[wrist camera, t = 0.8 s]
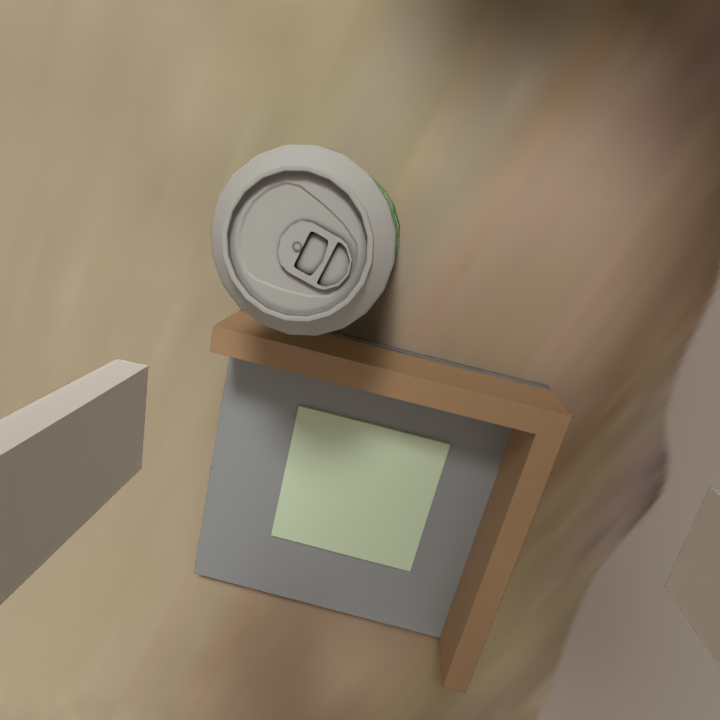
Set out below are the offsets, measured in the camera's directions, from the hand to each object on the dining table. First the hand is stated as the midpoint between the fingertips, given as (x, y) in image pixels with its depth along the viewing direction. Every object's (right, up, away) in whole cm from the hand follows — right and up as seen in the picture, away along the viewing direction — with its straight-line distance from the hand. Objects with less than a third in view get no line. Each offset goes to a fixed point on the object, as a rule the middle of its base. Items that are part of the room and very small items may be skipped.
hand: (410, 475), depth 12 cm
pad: (-1, -6, +23) cm, 24 cm away
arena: (-1, -6, +23) cm, 24 cm away
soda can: (-3, +10, +19) cm, 22 cm away
